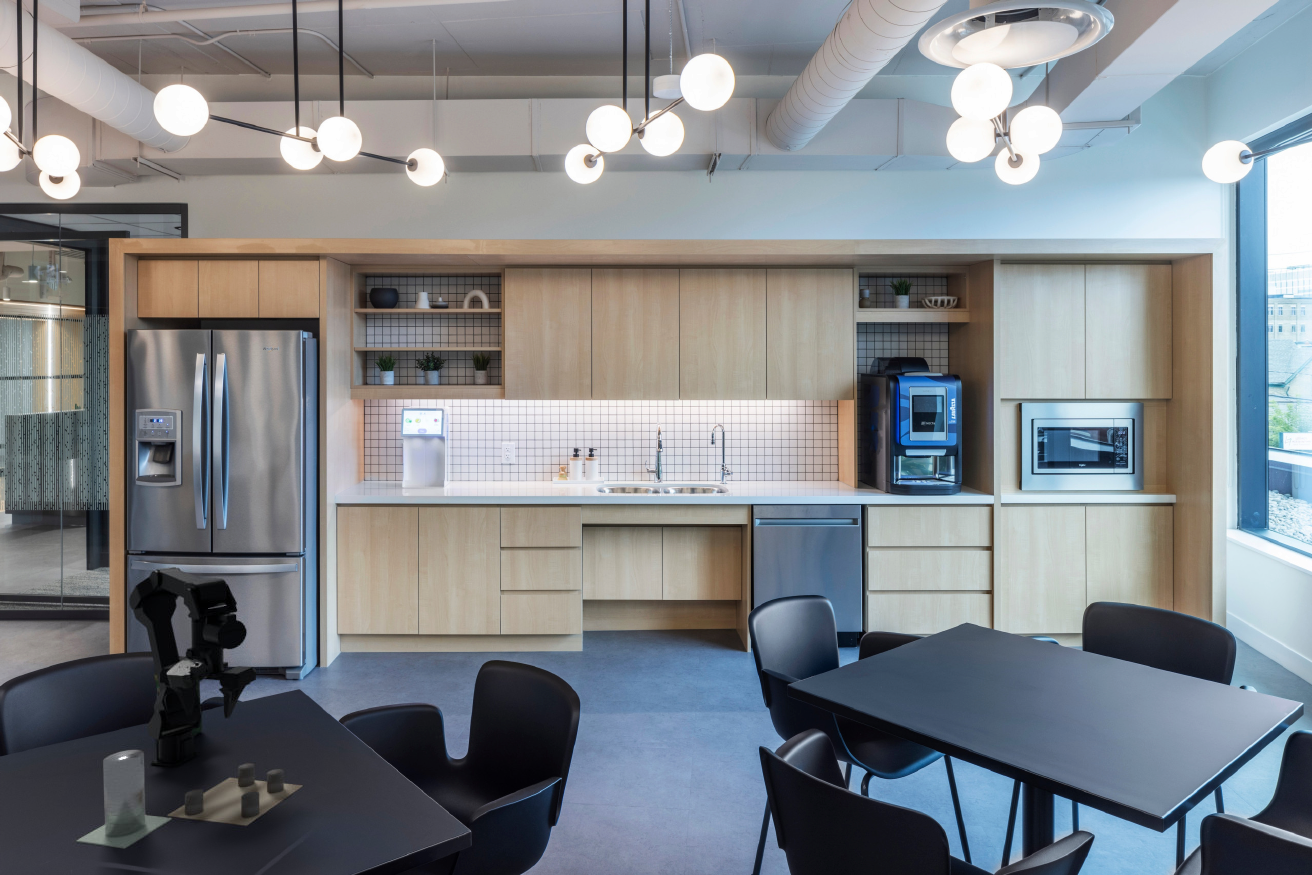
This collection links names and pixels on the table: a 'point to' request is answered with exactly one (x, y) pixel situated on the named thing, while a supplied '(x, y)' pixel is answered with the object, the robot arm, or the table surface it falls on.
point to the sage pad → (125, 841)
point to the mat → (237, 798)
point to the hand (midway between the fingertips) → (208, 715)
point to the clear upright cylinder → (124, 793)
